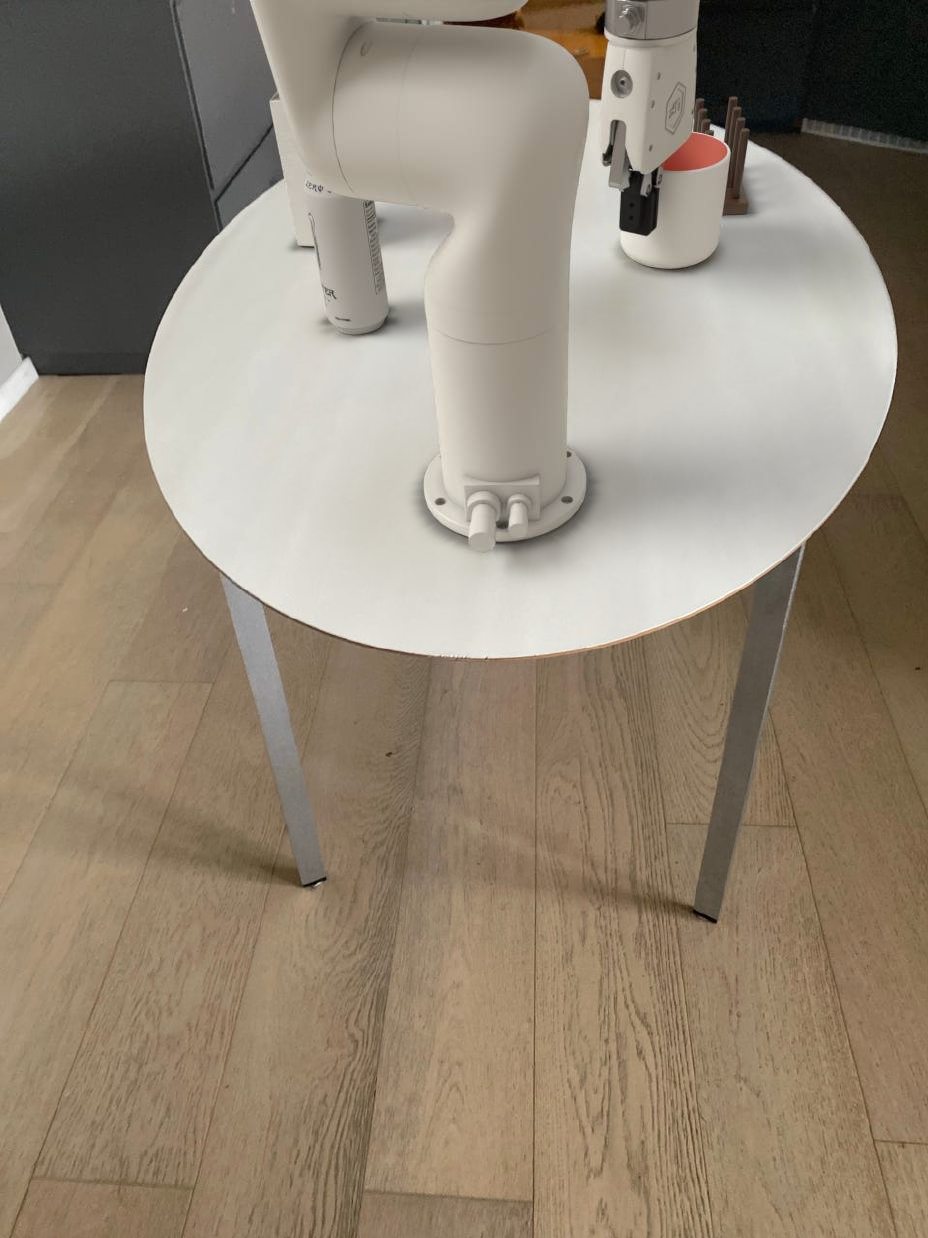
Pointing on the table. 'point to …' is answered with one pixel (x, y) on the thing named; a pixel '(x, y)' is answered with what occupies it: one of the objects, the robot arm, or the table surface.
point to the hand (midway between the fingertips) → (637, 229)
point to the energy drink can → (347, 258)
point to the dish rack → (737, 143)
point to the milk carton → (292, 173)
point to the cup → (686, 207)
